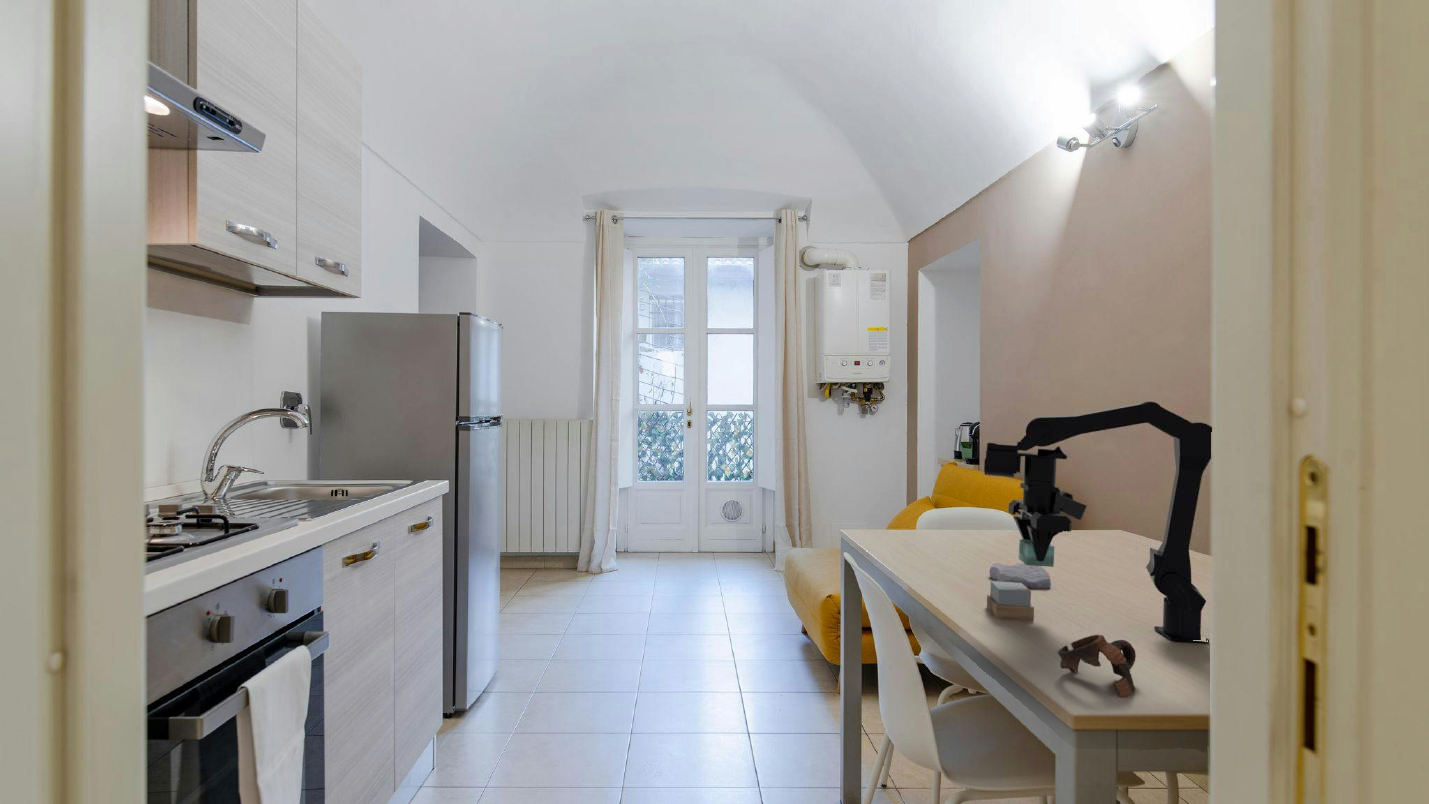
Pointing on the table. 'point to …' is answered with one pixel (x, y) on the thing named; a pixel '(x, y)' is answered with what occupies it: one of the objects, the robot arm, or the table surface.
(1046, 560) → the teal block
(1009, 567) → the stone block
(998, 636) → the table surface
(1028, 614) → the walnut base block
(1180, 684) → the table surface
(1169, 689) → the table surface
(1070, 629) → the table surface
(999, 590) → the grey middle block
